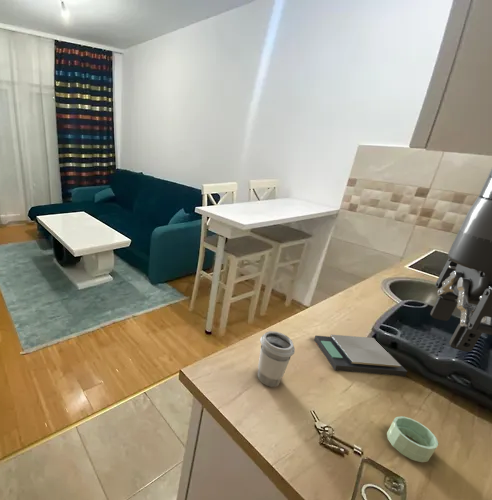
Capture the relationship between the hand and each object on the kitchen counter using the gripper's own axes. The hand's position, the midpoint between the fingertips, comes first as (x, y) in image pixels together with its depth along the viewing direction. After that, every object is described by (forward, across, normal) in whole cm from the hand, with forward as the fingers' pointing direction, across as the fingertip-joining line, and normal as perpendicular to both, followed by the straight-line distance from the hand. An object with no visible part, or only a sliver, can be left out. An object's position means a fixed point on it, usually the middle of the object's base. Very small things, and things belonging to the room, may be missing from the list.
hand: (447, 332), depth 45 cm
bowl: (+25, 0, -2) cm, 26 cm away
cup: (+26, +3, +22) cm, 34 cm away
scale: (+25, +22, +4) cm, 34 cm away
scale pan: (+22, +23, +3) cm, 32 cm away
